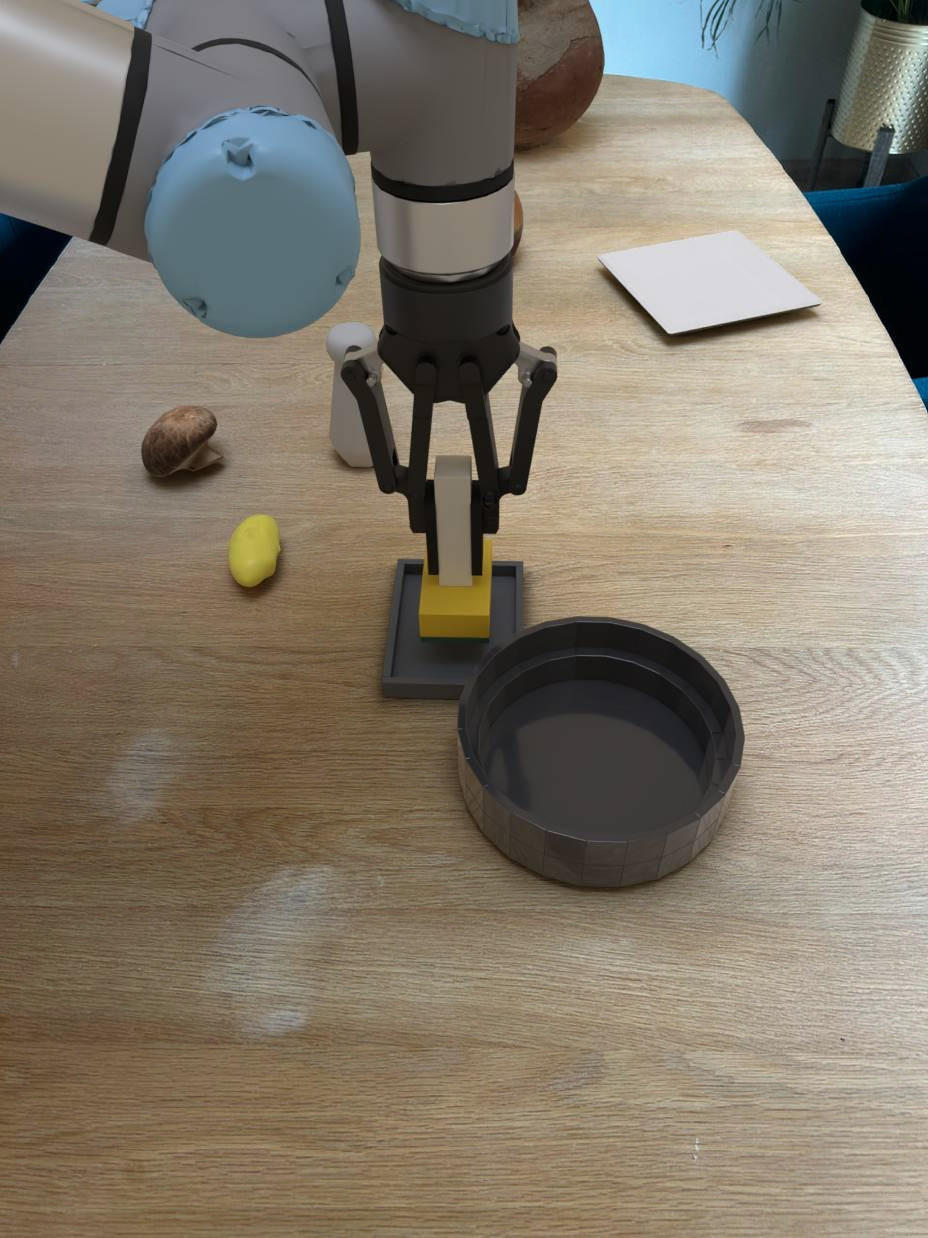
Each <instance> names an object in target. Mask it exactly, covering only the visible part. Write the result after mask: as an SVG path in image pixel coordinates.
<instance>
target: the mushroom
mask: <svg viewBox="0 0 928 1238" xmlns="http://www.w3.org/2000/svg"><path fill="white" fill-rule="evenodd" d="M217 428H218V421H217V417H216V416H215V414H214V413H213V412H212V411H211V410H209V409H208V408H206V407H203V406H200V405H199V406H198V405H184V406H183V405H182V406H177V407H174V408H172V409H170V410H167V411H166V412H164V413H163V414H162V415H161V416H159V418H157V420H156V421H154V423H152V425H151V426H150V427H149V429H148V430H147V431H146V433H145V436H144V437H143V440H142V442H141V447H140V448H141V449H140V455H141V461H142V464H143V466H144V468H145V470H146V471H147V472H148V473H149V474H150V475H152V476H153V477H157V478H164V477H167V476H169V475H172V474H173V473H175V472H177V471H179V470H183V469H184V470H185V469H186V470H189V471H190V472H196V471H199V470H201V469H203V468H206V467H208V466H210V465H212V464H215V463H217V462H219V461H221V460H222V459H224V456H223V455H221V454H220V453H218V452H217V451H215V450H213V448H211V446H209V444H208V442H209V440H210V439H212V437H213V436H214V435H215V432H216V431H217Z"/></svg>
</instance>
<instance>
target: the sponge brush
mask: <svg viewBox="0 0 928 1238" xmlns="http://www.w3.org/2000/svg"><path fill="white" fill-rule="evenodd" d="M433 479H434V490H435V505H436V525H437V545H438V565H439V575H428V562H427V545H426V544H425V549H424V558H423V559H424V568H423V577H422V587H421V596H420V606H419V626H420V639H421V642H435V643H485V644H489V638H490V610H491V583H492V561H493V540H492V539H483V571H482V576H472V561H471V508H470V504H471V494H472V480H473V457H472V455H468V454H467V455H464V454H463V455H460V454H458V455H457V454H454V455H453V454H452V455H451V454H436V455H435V461H434V472H433Z"/></svg>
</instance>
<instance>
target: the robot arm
mask: <svg viewBox="0 0 928 1238" xmlns="http://www.w3.org/2000/svg"><path fill="white" fill-rule="evenodd" d="M518 41H520V29H519V27H518V6H517V0H101V1H99V3H97V5H96V6H93V5H91V4H89V3H86V2H84V1H81V0H0V214H3V215H6V216H9V217H12V218H15V219H18V220H22V221H24V222H28V223H31V224H35V225H37V226H40V227H44V228H47V229H50V230H53V231H56V232H59V233H62V234H64V235H65V234H66V235H68V236H71V237H74V238H78V239H81V240H84V241H87V242H90V243H93V244H96V245H99V246H102V247H105V248H108V249H109V250H113V251H115V252H118V253H120V254H123V255H126V256H128V257H132V258H134V259H138V260H141V261H144V262H147V263H149V264H152V266H153V268H154V269H155V271H156V272H157V274H158V276H159V278H160V280H161V282H162V284H163V285H164V287H165V289H166V290H167V291H168V293H169V294H170V295H171V297H173V299H174V300H175V301H177V303H178V304H179V305H180V306H181V307H182V308H183V309H184V310H185V311H187V312H188V313H189V314H190V315H191V316H193V317H194V318H196V319H197V320H199V322H200V323H201V324H203V325H205V326H207V327H208V328H210V329H213V330H215V331H218V332H221V333H223V334H225V335H230V336H233V337H239V338H245V339H268V338H277V337H282V336H286V335H289V334H292V333H296V332H299V331H301V330H303V329H305V328H307V327H309V326H311V325H313V324H314V323H316V322H317V321H319V320H320V319H322V318H323V317H324V316H325V315H326V314H327V313H328V312H329V311H331V310H332V309H333V308H334V307H335V305H336V304H337V303H338V302H339V301H340V300H341V299H342V297H343V295H344V294H345V292H346V291H347V288H348V287H349V285H350V283H351V282H352V281H353V279H354V278H355V277H356V269H357V266H358V263H359V259H360V258H359V257H360V252H361V244H362V232H361V221H360V215H359V209H358V203H357V202H358V200H357V196H356V179H355V177H354V174H353V171H352V167H351V164H350V162H349V159H348V158H347V156H355V155H357V154H360V153H368V152H369V156H370V179H371V193H372V202H373V213H374V226H375V227H374V228H375V237H376V248H377V250H378V252H379V254H380V257H379V260H378V272H379V282H380V283H379V284H380V292H381V306H382V317H383V325H382V328H381V329H380V330H379V334H378V340H377V342H376V343H374V344H371V345H369V346H367V347H365V348H363V349H362V348H361V347H359V346H357V345H352V346H349V347H348V348H347V349H346V352H345V356H344V361H343V365H342V369H341V378H342V380H343V381H344V383H345V384H346V386H347V387H348V388H349V390H350V391H351V393H352V394H353V396H354V397H355V398H356V400H357V403H358V407H359V411H360V415H361V419H362V423H363V427H364V431H365V435H366V439H367V443H368V447H369V451H370V455H371V459H372V463H373V466H372V467H373V471H374V474H375V478H376V482H377V487H378V489H379V491H380V493H383V494H385V495H393V494H394V493H398V494H401V495H402V496H404V498H405V499H406V500H407V509H408V524H409V529H410V531H411V533H412V534H425V546H426V545H427V562H428V575H439V565H438V545H437V525H436V505H435V490H434V478H427V477H428V466H429V455H430V445H431V444H430V443H431V435H432V423H433V414H434V404H441V403H445V402H454V403H458V404H462V405H464V408H465V412H466V413H465V414H466V420H467V421H468V425H469V431H470V432H469V433H470V438H471V444H472V449H473V457H474V462H475V469H476V473H477V475H476V476H477V479H472V494H471V504H470V508H471V561H472V576H482V571H483V540H484V535H497V533H498V531H499V530H500V505H501V504H500V500H501V499H502V498H503V497H504V496H505V495H510V494H511V495H513V496H522V495H524V494H525V493H526V491H527V489H528V483H529V478H530V473H531V467H532V463H533V462H532V461H533V456H534V451H535V445H536V440H537V435H538V430H539V423H540V418H541V413H542V408H543V403H544V400H546V397H547V396H548V394H549V393H550V391H551V390H552V388H553V386H554V385H555V383H556V382H557V380H558V359H557V358H558V355H557V351H556V349H555V348H554V347H552V346H549V345H545V346H542V347H541V348H539V349H537V348H535V347H533V346H531V345H529V344H526V343H524V342H522V341H521V335H520V332H519V330H518V329H517V327H516V325H515V323H514V319H513V313H514V312H513V311H514V310H513V309H514V305H513V304H514V303H513V302H514V256H512V254H511V252H510V250H511V248H512V246H513V241H514V199H515V191H516V171H515V151H514V132H515V105H516V79H517V52H518ZM383 364H385V365H386V367H388V369H389V370H390V371H391V372H392V373H393V374H394V375H395V376H396V377H397V378H398V380H399V381H400V382H401V383H402V384H403V385H404V386H405V388H407V389H408V391H409V392H410V393H411V394H412V395H413V401H412V412H411V413H412V414H411V429H410V442H409V454H408V455H409V456H408V466H406V465H402V464H401V463H400V459H399V454H398V449H397V445H396V440H395V436H394V433H393V432H394V431H393V432H392V429H393V426H392V422H391V419H390V415H389V411H388V405H387V401H386V397H385V393H384V387H383V384H382V379H383V373H384V366H383ZM513 365H515V366H517V381H518V382H519V383H520V384H521V388H520V393H519V394H520V395H519V400H518V407H517V413H516V418H515V424H514V431H513V437H512V444H511V449H510V455H509V462H508V465H505V466H501V467H500V465H499V458H498V457H499V456H498V451H497V450H498V449H497V444H496V437H495V429H494V424H493V417H492V416H493V415H492V410H491V409H492V408H491V401H490V392H491V391H492V389H493V388H494V387H495V386H496V385H497V384H498V383H499V381H500V380H501V379H502V378H503V377H504V376H505V375H506V373H507V372H508V371H509V370H510V368H511V367H512V366H513ZM391 426H392V427H391Z"/></svg>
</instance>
